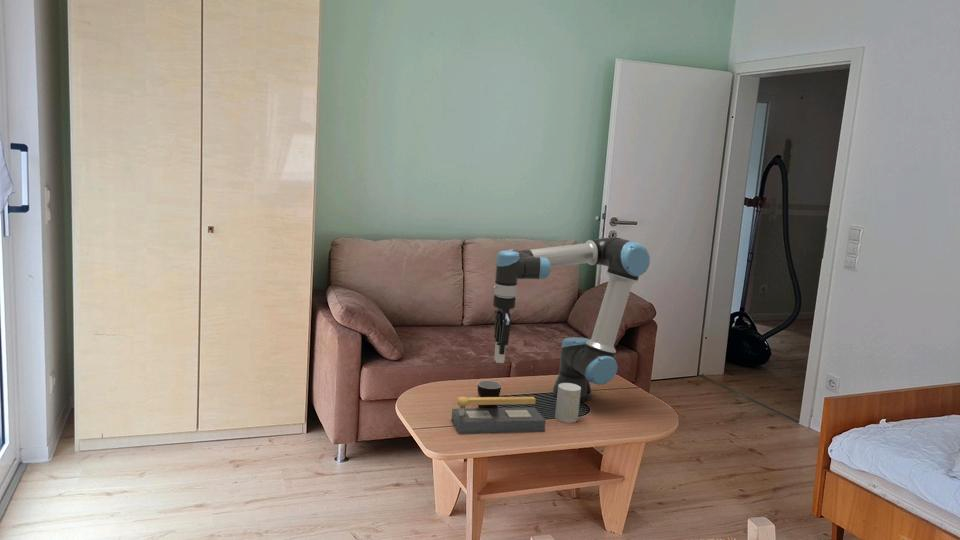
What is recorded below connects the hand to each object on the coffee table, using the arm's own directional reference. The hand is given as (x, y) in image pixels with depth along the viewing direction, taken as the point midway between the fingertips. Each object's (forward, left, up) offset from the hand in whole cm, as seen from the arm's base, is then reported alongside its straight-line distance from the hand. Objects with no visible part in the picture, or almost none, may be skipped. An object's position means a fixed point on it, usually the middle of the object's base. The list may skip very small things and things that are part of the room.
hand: (499, 361), depth 255 cm
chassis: (+1, +8, -20) cm, 22 cm away
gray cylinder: (-26, +3, -21) cm, 33 cm away
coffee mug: (+1, -7, -21) cm, 22 cm away
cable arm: (+2, +8, -13) cm, 15 cm away
